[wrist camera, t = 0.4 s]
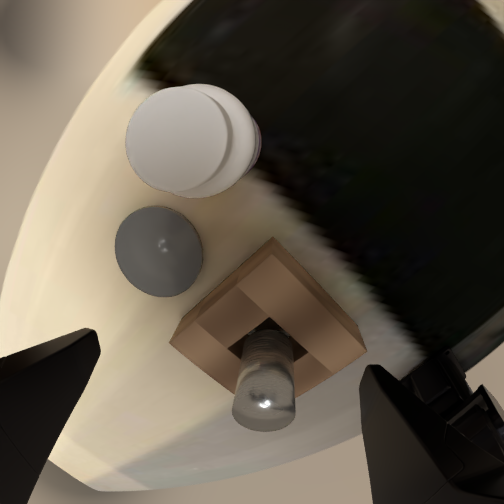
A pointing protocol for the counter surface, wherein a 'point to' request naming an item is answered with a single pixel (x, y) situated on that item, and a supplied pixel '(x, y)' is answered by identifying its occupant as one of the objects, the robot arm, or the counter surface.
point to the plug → (265, 382)
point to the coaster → (159, 251)
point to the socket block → (280, 310)
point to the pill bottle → (192, 140)
